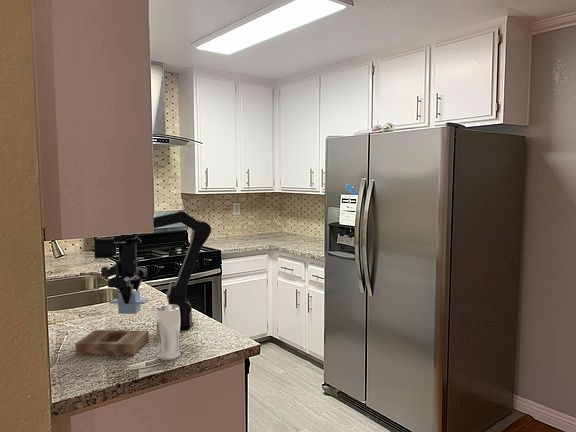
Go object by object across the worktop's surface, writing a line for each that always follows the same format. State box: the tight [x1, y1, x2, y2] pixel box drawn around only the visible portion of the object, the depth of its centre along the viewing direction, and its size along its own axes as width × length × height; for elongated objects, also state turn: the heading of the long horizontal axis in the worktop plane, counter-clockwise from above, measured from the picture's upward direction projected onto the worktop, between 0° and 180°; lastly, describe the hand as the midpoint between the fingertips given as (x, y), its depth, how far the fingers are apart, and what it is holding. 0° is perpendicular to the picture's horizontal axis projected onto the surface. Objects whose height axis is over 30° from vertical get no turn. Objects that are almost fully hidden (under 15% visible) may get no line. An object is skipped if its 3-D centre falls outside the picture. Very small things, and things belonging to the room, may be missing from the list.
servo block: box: [109, 289, 149, 315], centre depth 149 cm, size 4×12×8 cm, turn 87°
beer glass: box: [155, 303, 181, 361], centre depth 130 cm, size 7×7×15 cm
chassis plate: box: [74, 329, 150, 357], centre depth 137 cm, size 18×12×4 cm, turn 87°
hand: (129, 301), depth 149 cm, fingers closed on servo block, 4 cm apart
